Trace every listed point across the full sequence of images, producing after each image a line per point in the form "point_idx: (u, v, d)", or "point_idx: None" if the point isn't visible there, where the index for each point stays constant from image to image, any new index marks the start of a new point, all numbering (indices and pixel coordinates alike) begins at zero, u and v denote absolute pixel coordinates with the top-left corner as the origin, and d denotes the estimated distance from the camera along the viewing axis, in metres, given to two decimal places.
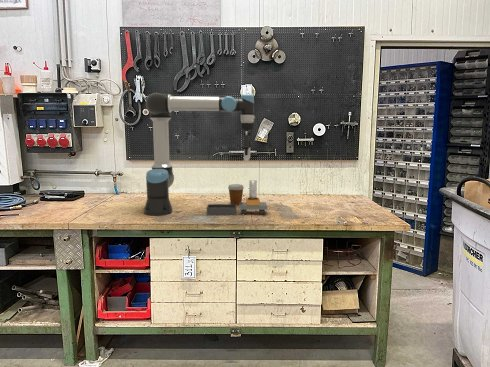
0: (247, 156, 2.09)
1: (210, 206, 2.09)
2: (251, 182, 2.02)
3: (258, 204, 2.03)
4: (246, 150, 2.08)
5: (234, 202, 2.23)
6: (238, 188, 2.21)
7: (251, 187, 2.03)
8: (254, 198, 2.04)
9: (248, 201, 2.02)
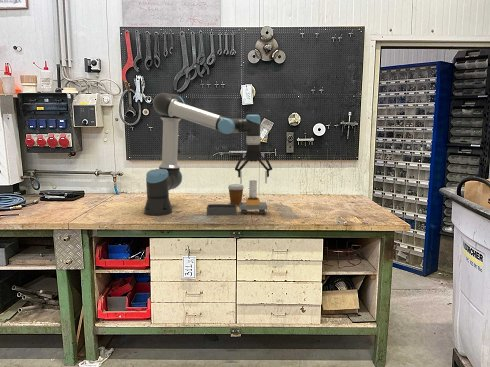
0: (240, 178, 2.03)
1: (210, 206, 2.09)
2: (251, 182, 2.02)
3: (258, 204, 2.03)
4: (238, 172, 2.03)
5: (234, 202, 2.23)
6: (238, 188, 2.21)
7: (251, 187, 2.03)
8: (254, 198, 2.04)
9: (248, 201, 2.02)
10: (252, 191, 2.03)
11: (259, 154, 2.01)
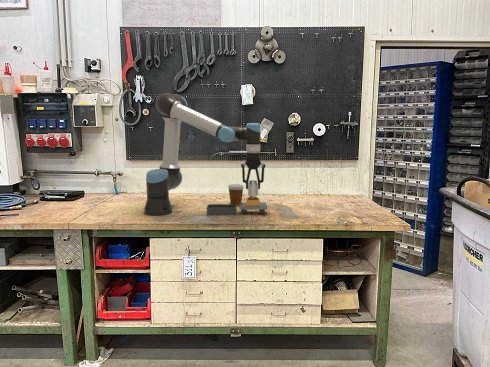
0: (248, 190, 2.04)
1: (210, 206, 2.09)
2: (251, 182, 2.02)
3: (258, 204, 2.03)
4: None
5: (234, 202, 2.23)
6: (238, 188, 2.21)
7: (251, 187, 2.03)
8: (254, 198, 2.04)
9: (248, 201, 2.02)
10: (252, 191, 2.03)
11: (259, 162, 2.01)
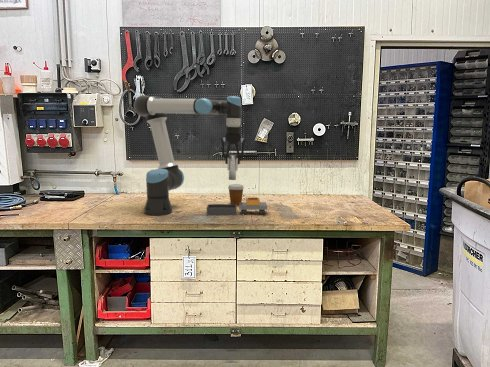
0: None
1: (210, 206, 2.09)
2: (231, 157, 2.00)
3: (258, 204, 2.03)
4: None
5: (234, 202, 2.23)
6: (238, 188, 2.21)
7: (231, 162, 2.00)
8: (233, 173, 2.01)
9: (248, 201, 2.02)
10: (231, 166, 2.01)
11: (239, 137, 1.99)
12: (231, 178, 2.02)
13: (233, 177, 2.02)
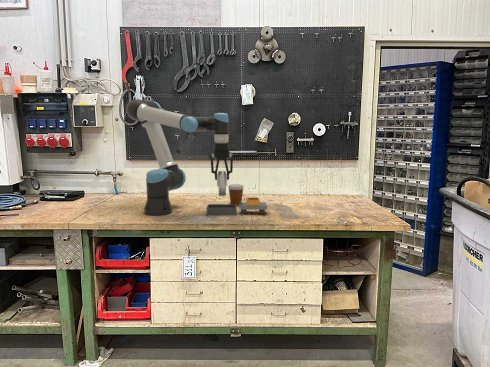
0: (217, 181, 2.03)
1: (210, 206, 2.09)
2: (220, 173, 2.01)
3: (258, 204, 2.03)
4: None
5: (234, 202, 2.23)
6: (238, 188, 2.21)
7: (220, 178, 2.01)
8: (223, 189, 2.02)
9: (248, 201, 2.02)
10: (221, 182, 2.01)
11: (227, 153, 2.00)
12: (221, 194, 2.02)
13: (223, 193, 2.02)
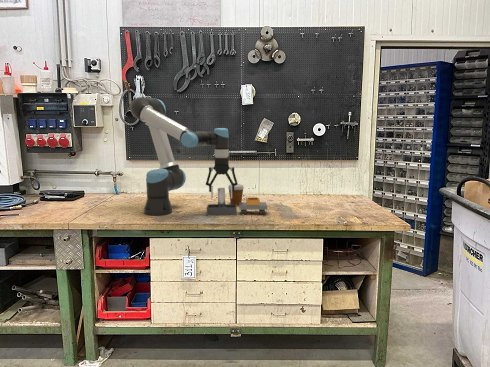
0: (211, 193, 2.04)
1: (210, 206, 2.09)
2: (219, 190, 2.03)
3: (258, 204, 2.03)
4: (209, 187, 2.03)
5: (234, 202, 2.23)
6: (238, 188, 2.21)
7: (219, 195, 2.03)
8: (222, 205, 2.04)
9: (248, 201, 2.02)
10: (220, 199, 2.03)
11: (227, 167, 2.01)
12: None
13: None
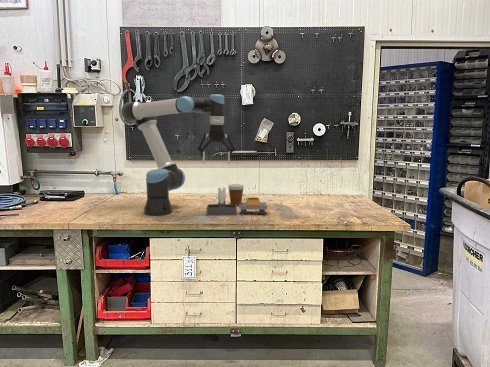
0: None
1: (210, 206, 2.09)
2: (219, 190, 2.02)
3: (258, 204, 2.03)
4: None
5: (234, 202, 2.23)
6: (238, 188, 2.21)
7: (220, 195, 2.03)
8: (223, 206, 2.04)
9: (248, 201, 2.02)
10: (221, 199, 2.03)
11: (222, 135, 2.00)
12: None
13: None
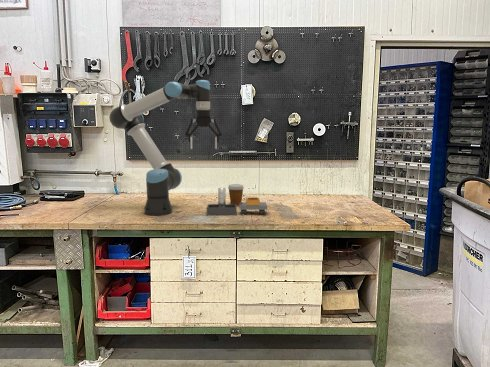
0: None
1: (210, 206, 2.09)
2: (220, 190, 2.02)
3: (258, 204, 2.03)
4: None
5: (234, 202, 2.23)
6: (238, 188, 2.21)
7: (220, 195, 2.03)
8: (223, 206, 2.04)
9: (248, 201, 2.02)
10: (221, 199, 2.03)
11: (209, 120, 2.05)
12: None
13: None
